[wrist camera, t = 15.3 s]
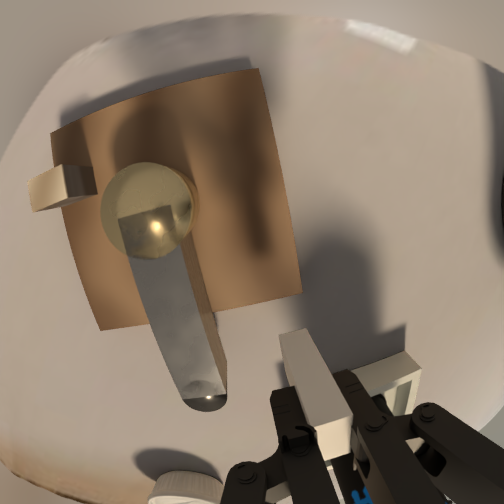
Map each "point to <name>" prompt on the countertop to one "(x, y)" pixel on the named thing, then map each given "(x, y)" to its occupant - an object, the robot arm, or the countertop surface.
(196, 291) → the crank lever
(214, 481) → the ramekin
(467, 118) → the countertop surface
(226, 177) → the crank base
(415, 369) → the tray
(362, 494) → the aerosol can
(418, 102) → the countertop surface
